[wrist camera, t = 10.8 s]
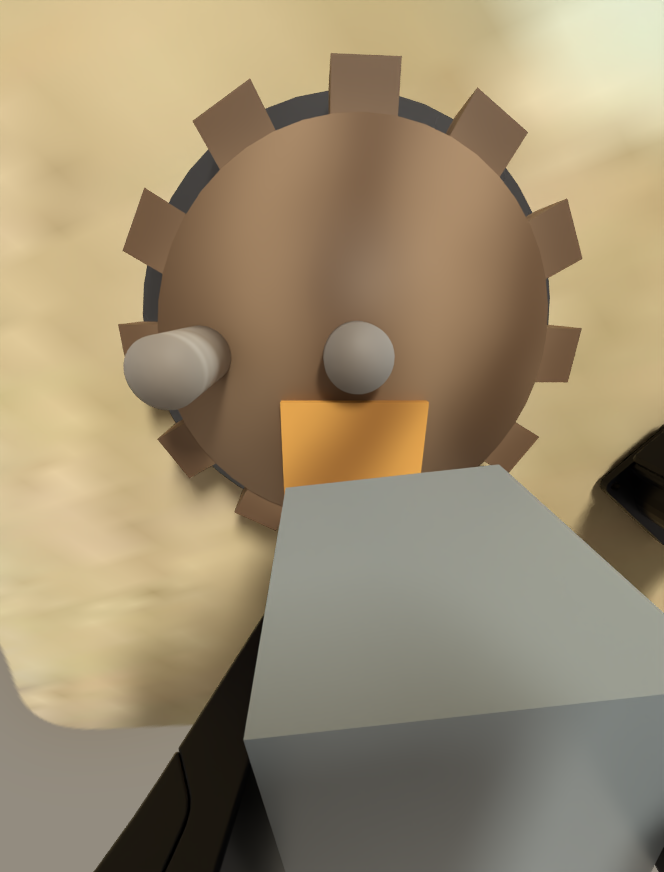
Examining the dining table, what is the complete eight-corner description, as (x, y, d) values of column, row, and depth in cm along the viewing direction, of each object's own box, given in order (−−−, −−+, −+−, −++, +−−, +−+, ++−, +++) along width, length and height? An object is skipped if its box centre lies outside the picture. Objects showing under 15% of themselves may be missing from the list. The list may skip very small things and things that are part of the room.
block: (499, 464, 8) (743, 685, 3) (486, 621, 10) (635, 904, 5) (285, 487, 8) (243, 739, 3) (311, 640, 10) (307, 939, 5)
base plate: (618, 315, 15) (629, 315, 15) (367, 561, 20) (368, 568, 19) (316, -43, 11) (316, -61, 10) (78, 376, 15) (69, 379, 15)
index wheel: (599, 101, 12) (813, -48, 7) (506, 514, 18) (582, 599, 13) (101, 82, 11) (-81, -102, 6) (178, 519, 17) (120, 611, 12)
